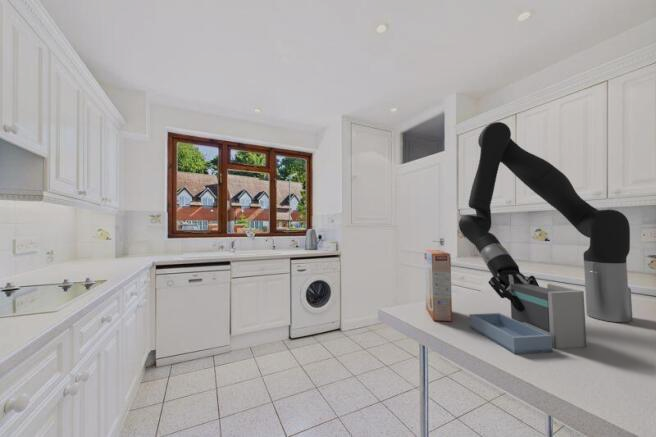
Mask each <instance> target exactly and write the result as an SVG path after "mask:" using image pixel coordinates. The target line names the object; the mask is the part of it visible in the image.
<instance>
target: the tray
mask: <svg viewBox="0 0 656 437" xmlns="http://www.w3.org/2000/svg"><path fill="white" fill-rule="evenodd" d="M468 317H469V328H471V329H472V330H474V331H476V332H477V333H479V334H480V335H482V336H484V337H486V338H487V339H489V340H490V341H493V342H494V343H495V344H498V345H499V346H501V347H502V348H504V349H505V350H506V351H507V350H508V352H511V353H512V354H513V355H521V354H537V353H539V354H540V353H551V352H552V353H553V348H552V336H551V335H549V334H546V333H544V332H542V331H539V330H537V329H535V328H533V327H530V326H528V325H526V324H524V323H521V322H519V321H517V320H514V319H512V318H511V317H509V316H507V315H505V314H503V313H500V312H492V313H491V312H490V313H489V312H488V313H470V314H469V316H468Z"/></svg>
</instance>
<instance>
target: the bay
mask: <svg viewBox="0 0 656 437" xmlns="http://www.w3.org/2000/svg"><path fill="white" fill-rule="evenodd" d="M546 288H547V289H551V290H555V291H556V292H548V305H549V325H550V333H549V332H546V331H544V330H542V329H540V328H537V327H535V326H533V325H530V324H528V323H526V322H523V323H524V324H526V325H528V326H530V327H533V328H535V329H537V330H539V331H542V332H544V333H546V334H549V335H551V336H552V349H554V350H555V349H558V350H559V349H574V348H587V330H586V329H587V328H586V309H585V307H586V306H585V293H584V290H583V291H582V290H578V289H576V288H575V289H574V288H570V287H565V286H562V285H557V284H552V283H547V287H546Z"/></svg>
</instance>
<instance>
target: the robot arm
mask: <svg viewBox="0 0 656 437" xmlns="http://www.w3.org/2000/svg"><path fill="white" fill-rule="evenodd" d="M511 137H512V131H511V129H510V127H509V126H508V125H507V124H506V123H505V122H501V121H496V122H491V123H489V124H488V125H486V126H485V127H484V128H483V129H482V130H481V132H480V134H479V136H478V142H477V143H478V145H479V148H480V155H479V156H480V157H479V160H478V165H477V169H476V173H475V174H474V175H475V176H474V178H473V182H472V185H471V189H470V193H469V194H470V195H469V199H468V207H469V208H471V209H472V210H475V212H476V213H475V215H471V214H466V215H463V216H462V217H460V219H459V221H458V228H459V230H460V232H461V234H462V235H463V236H464V237H465V238H466V239H467V240H468V241H469V243H471V244H473V245H474V246H475V247H476V250H477V251H478V253H479V254H480V256H481V258H482V261H483V262H484V263H485V265H486V267H487V268H488V270H489V272H490V273H491V275H492V277H491V278H490V279H489V280H488V282H487V283H488V285H489V286H490V287H491V288H492V289H493V290H494V291H495V293H496V294H497V295H498V296H499V297H500V298H501V299H507V300H508V301H510V304H511V303H512V305H513V306H514V308H515V309H516V310H518V311H519V312H520V311H523V310H524V309H525V307H524V306H523V304H522V303H521V301H520V299H519V298H518V297H517V296H515V295H516V294H515V292H514V290H513V286H512V285H511V284H517V283H524V284H526V283H527V284H531V285H535V286H539V287H540V285H539V283H538V281H537V279H536V277H535V276H534V275H533V274H532V275H530V276H525V275H524V274H523V273H522V272H521V271H520V268H519V265H518V264H517V262H516V260H514V259H513V257H512V256H511V254H510V253H509V251H508V250H507V249H506V248H505V247H504V245H502V243H501V242H500V241H499V239H498V238H497V237H496V235H495V234H494V233H492V232H490V231H491V228H492V212H491V204H492V200H493V196H494V191H495V186H496V185H495V184H496V181H497V176H498V171H499V168H500V164H501V163H502V164H503V165H504V166H505V167H507V168H508V170H509V171H511V173H512V174H514V176H516V177H517V178H518V179H519V181H521V182H522V184H524V185H526V187H527V188H529V189H530V190H531V191H533V192H534V193H535V194H536V195H537V196H539V197H540V198H541V199H543V200H544V201H545V202H546V203H547V204H549V205H550V206H551V207H553V208H554V209H555V210H557V211H558V212H559V213H560V214H561V215H562V216H563V217H564V219H567V221H568V222H569V223H571V225H572V226H573V227H574V228H575V229H576V231H578V232H579V233H580V234H581V235H583V236H584V237H586V238H588V239H589V247H588V248H587V250H585V251H584V252H583V271H584V286H585V288H584V289H585V305H586V306H585V307H586V309H585V312H586V315H587V316H588V317H591V318H594V319H596V320H600V321H606V322H614V323H629V322H631V321H633V319H634V318H633V302H632V290H631V288H630V287H629V281H628V266H627V265H628V264H627V258H628V255H629V254H630V250H631V228H630V222H629V220H628V217H626V215H625V214H624V213H622V212H621V211H619V210H615V209H597V208H595V207H594V206H592V205H591V204H590V203H588V202H587V201H586V200H584V199H582V198H583V197H581V196H580V195H579V194H578V192H577V191H576V190H575V188H574V186H573V184H572V183H571V181H570V180H569V178H568V177H567V176H566V175H565V173H563V172H562V171H560V169H558V168H557V167H556V166H554V165H553V164H551V163H550V162H548V160H546V159H544V158H542V157H539V156H537V155H536V154H533V153H531V152H529V151H527V150H525V149H524V148H522V147H521V146H520V145H518V144H517V143H516V142H515V141H514V140H513V139H512V138H511Z"/></svg>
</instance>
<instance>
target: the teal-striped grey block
mask: <svg viewBox="0 0 656 437" xmlns="http://www.w3.org/2000/svg"><path fill="white" fill-rule="evenodd" d="M511 285H512V286H513V290H514V292H515V294H516V295H515V296H517V297H518V298H519V299H520V301H521V303H522V304H523V306H524V307H525V309H524V310H523V311H520V312H519V311H518V310H516V309H515V308H514V306H513V305H512V303H511V302H510V314H511V315H510V316H511V317H510V318H512V319H514V320H517V321H519V322H521V323H523V322H526V323H528V324H530V325H533V326H535V327H537V328H540V329H542V330H544V331H546V332H549V333H550V325H549V305H548V292H556V291H555V290H551V289H548V288H547V287H543V286H540V285H539V286H535V285H531V284H527V283H526V284H524V283H517V284H511Z"/></svg>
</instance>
